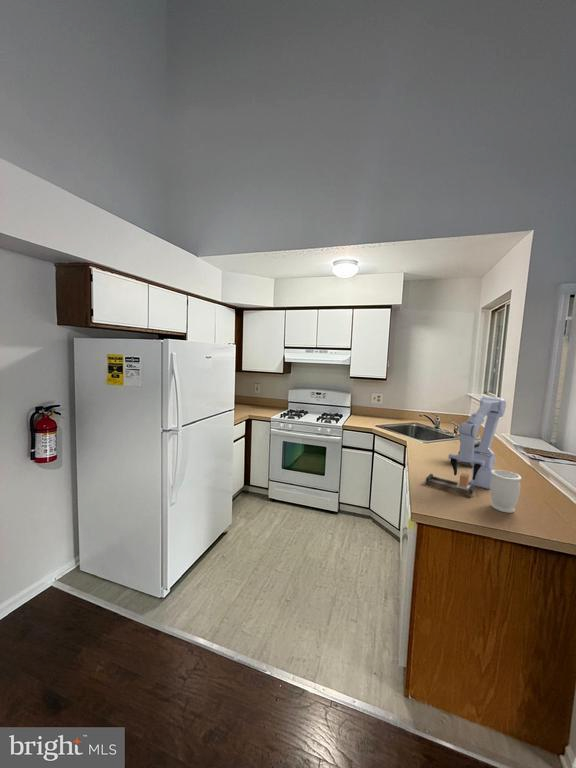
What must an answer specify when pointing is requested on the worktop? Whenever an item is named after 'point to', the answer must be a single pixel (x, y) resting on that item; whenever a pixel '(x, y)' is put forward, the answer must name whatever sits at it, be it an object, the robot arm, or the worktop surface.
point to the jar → (504, 490)
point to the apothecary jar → (477, 443)
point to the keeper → (464, 482)
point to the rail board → (448, 486)
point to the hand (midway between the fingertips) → (464, 476)
